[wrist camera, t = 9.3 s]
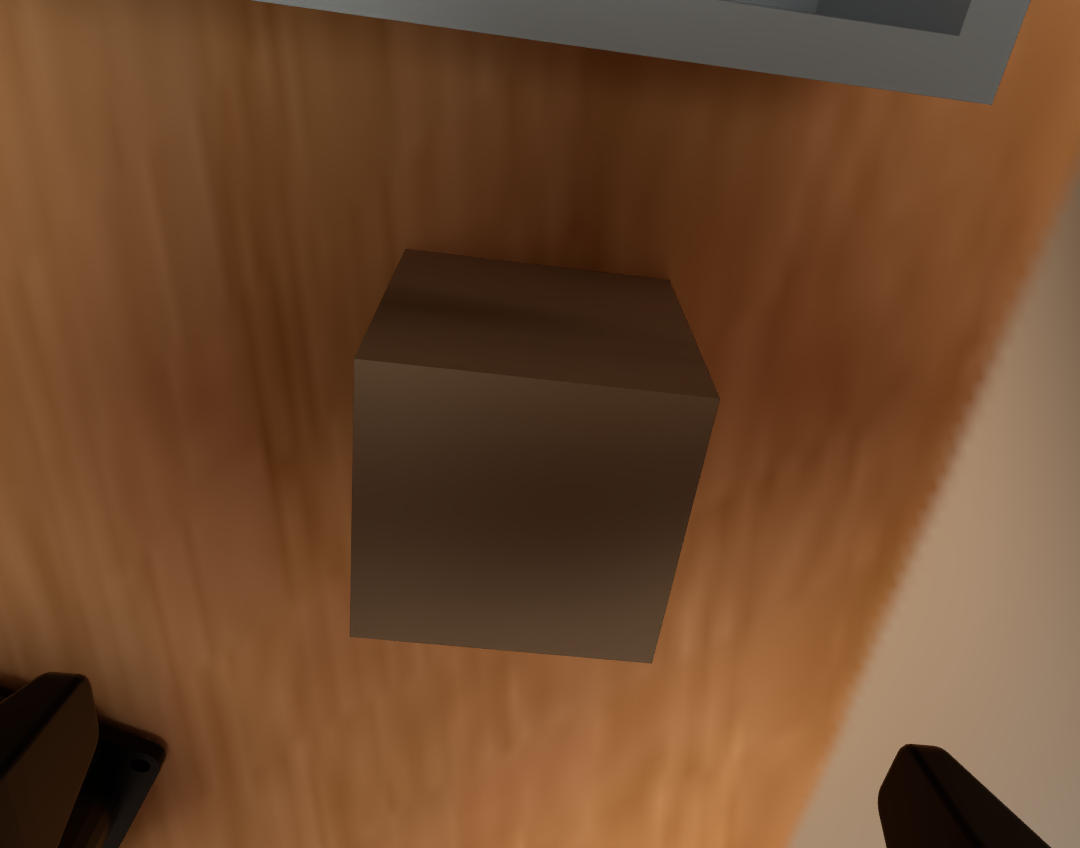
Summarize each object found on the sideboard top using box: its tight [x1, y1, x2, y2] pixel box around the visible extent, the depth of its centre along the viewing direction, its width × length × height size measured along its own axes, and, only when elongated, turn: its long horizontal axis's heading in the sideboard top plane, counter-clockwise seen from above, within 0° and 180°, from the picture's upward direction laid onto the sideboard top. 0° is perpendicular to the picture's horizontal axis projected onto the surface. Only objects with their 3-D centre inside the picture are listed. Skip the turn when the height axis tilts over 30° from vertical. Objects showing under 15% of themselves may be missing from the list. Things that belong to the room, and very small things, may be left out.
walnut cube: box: [350, 249, 720, 663], centre depth 15 cm, size 5×5×5 cm
